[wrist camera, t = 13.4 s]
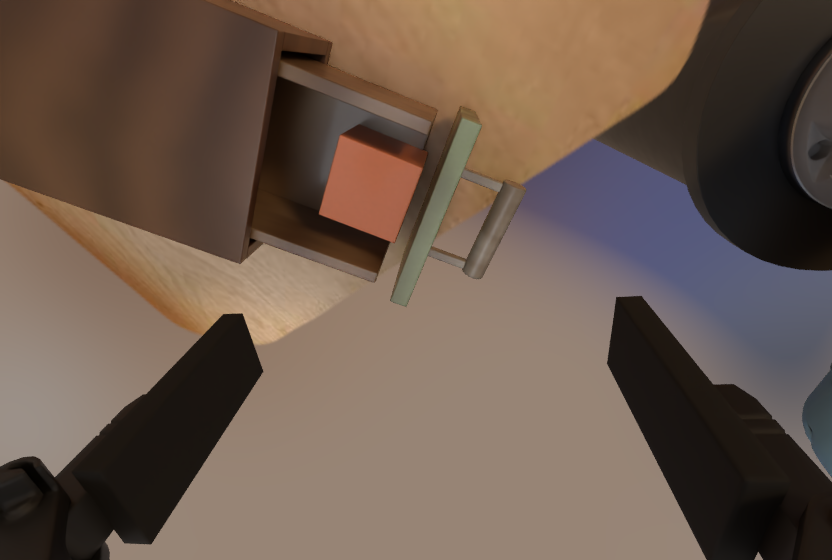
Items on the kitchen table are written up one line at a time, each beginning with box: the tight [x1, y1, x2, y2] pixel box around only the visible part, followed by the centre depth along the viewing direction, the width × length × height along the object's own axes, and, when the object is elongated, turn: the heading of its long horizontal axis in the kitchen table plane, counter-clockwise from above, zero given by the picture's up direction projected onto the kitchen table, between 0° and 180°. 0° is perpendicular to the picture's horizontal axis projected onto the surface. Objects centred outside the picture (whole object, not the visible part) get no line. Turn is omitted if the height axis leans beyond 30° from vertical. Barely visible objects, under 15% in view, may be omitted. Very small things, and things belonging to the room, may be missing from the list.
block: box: [319, 124, 428, 243], centre depth 28 cm, size 5×5×5 cm
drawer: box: [250, 51, 526, 306], centre depth 28 cm, size 19×13×8 cm, turn 70°
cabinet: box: [0, 0, 332, 264], centre depth 26 cm, size 16×14×10 cm
